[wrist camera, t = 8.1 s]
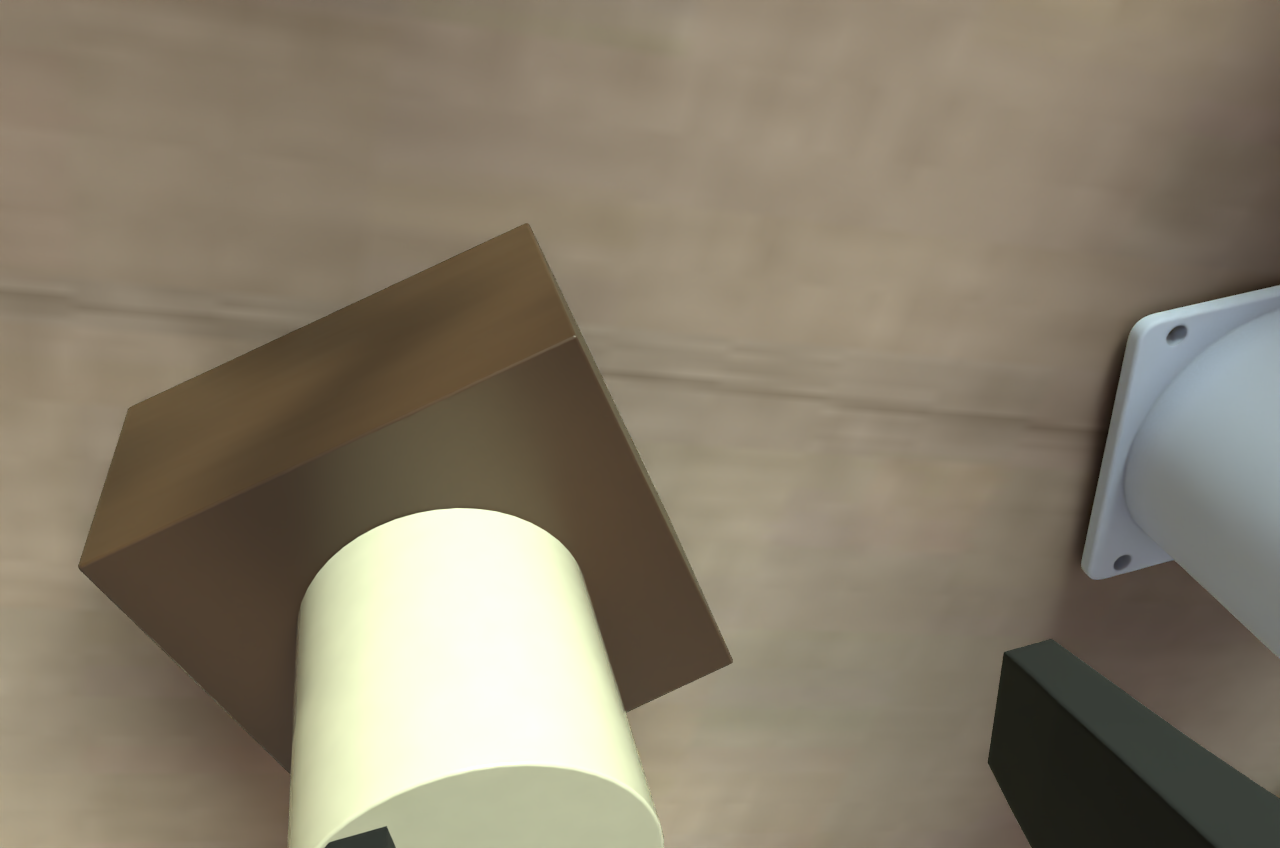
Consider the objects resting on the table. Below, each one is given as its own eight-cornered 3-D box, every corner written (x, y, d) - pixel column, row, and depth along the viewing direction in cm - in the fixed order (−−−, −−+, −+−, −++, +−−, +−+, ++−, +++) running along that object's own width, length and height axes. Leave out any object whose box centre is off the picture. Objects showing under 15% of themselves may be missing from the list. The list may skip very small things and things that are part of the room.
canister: (567, 476, 16) (647, 720, 12) (602, 681, 19) (677, 935, 14) (256, 548, 15) (229, 834, 11) (340, 750, 18) (343, 1039, 14)
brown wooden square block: (528, 221, 18) (576, 335, 15) (670, 520, 23) (733, 663, 19) (127, 407, 18) (75, 568, 14) (352, 668, 23) (355, 839, 19)
